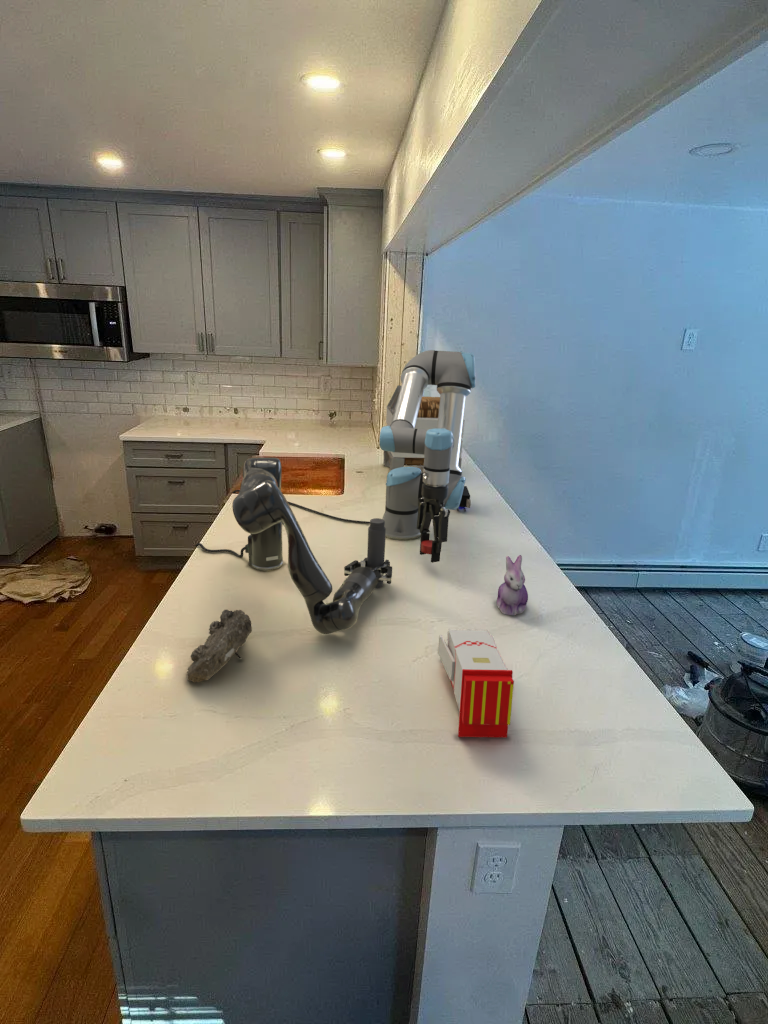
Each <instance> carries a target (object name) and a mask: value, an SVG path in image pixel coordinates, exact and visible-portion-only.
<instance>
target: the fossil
mask: <svg viewBox="0 0 768 1024" xmlns="http://www.w3.org/2000/svg"><path fill="white" fill-rule="evenodd" d="M219 619H220V620H216V621H213V622H211V623H210V624H209V629H208V631H209V632H208V634H209V635H208V636H207V638H206V640H205V642H204V643H203V644H199V645H198V646H197V648H195V649H193V650H192V652H191V654H190V659H191V661H192V663H191V664H190V666H188V667H187V668H186V669H187V671H186V676H187V681H192V682H193V683H200V682H204V681H208V680H210V679H211V678H212V677H213V676H214V675H216V673H218V672H219V671H220V670H221V669H222V668H223V667H224V666H225V665H226V664H227V663H229V662H230V660H231V658H232V657H233V656H234V655H235V656H236V657H237V658H238V659H239V660H241V659H242V656H241V655H240V654H239V653H238V650H239V649H240V647H244V646H243V645H245V643H246V642H247V639H248V637H249V635H250V634H251V633H252V631H253V627H252V624H253V623H252V620H251V618H250V616H249V614H248V613H245V612H244V611H243V610H242V609H235V610H229V609H223V610H222V611H221V613H220V616H219Z"/></svg>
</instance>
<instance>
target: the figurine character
mask: <svg viewBox="0 0 768 1024" xmlns="http://www.w3.org/2000/svg"><path fill="white" fill-rule="evenodd" d="M471 501H472V500H471V494H470V491H469V488H468V486H467V485H464V490H463V494H462V498H461V502H460V505H459V507H458V508H457V509H456V511H457V512H460V510H463V511H464V513H466V512H467V509H470V508H471V505H472V504H471ZM466 508H467V509H466Z"/></svg>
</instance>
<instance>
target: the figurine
mask: <svg viewBox="0 0 768 1024" xmlns="http://www.w3.org/2000/svg"><path fill="white" fill-rule="evenodd" d="M522 562H523V555H522V554H519V555H518V556H517V557H516V559H515V561H513V560H512V558H511V556H509V555H506V556H505V566H506V567H505V569H506V571H505V573H504V576H503V581H504V582H502V584H500V585H499V586H498V589H497V598H496V607H497V608H498V610H500V612H501V614H503V615H508V616H516V615H518V614H523V612H524V611H525V610H526V607H527V603H528V601H529V594H528V590H527V587H526V585H525V583H526V576H525V574H524V571H523V569H522V564H523V563H522Z"/></svg>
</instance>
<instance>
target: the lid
mask: <svg viewBox="0 0 768 1024" xmlns="http://www.w3.org/2000/svg"><path fill="white" fill-rule="evenodd" d="M432 541H434V539H430V540H424V541H422V542H421V551H422V552H423V553H425V554H424V555H431V552H432Z"/></svg>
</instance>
